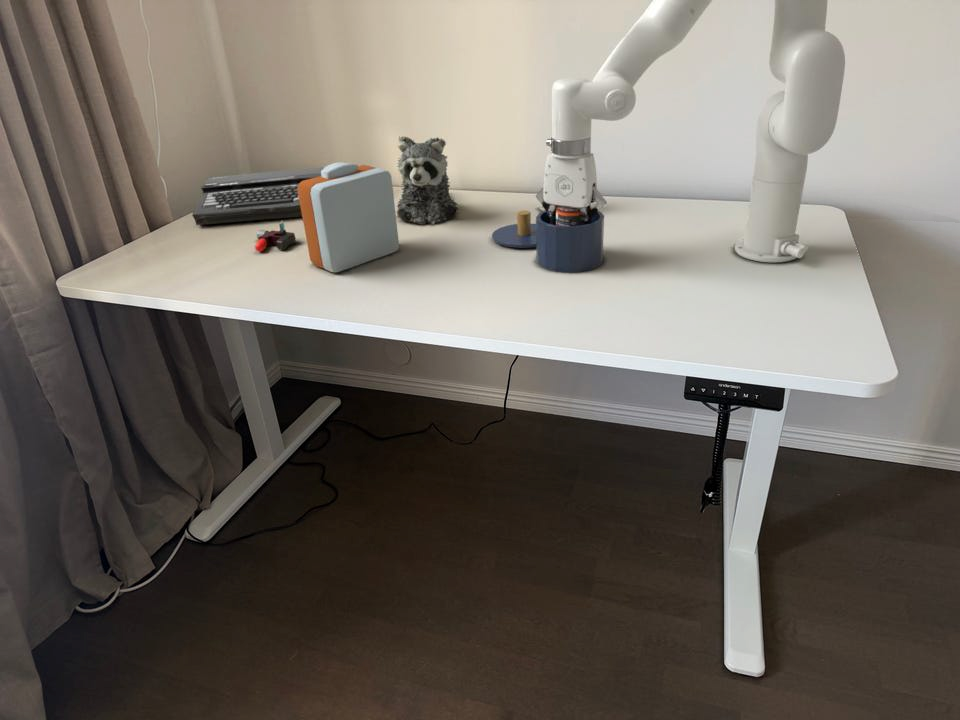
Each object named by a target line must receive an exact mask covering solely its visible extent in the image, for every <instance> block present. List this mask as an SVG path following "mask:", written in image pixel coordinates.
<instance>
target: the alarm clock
mask: <svg viewBox="0 0 960 720" xmlns="http://www.w3.org/2000/svg"><path fill="white" fill-rule="evenodd" d="M357 165H358V164H355V163H351V162H345V161H344V162H343V161H342V162H340V161H339V162H332V163H330V164H328V165H327V166H324V167H325V168H324V169H323V170H322V171H321V175H322V176H319V177H315V178H311V179H307V180H303V181H302V182H300V183H299V184H298V188H297V190H298V196H299V201H300V207H301V212H302V216H301V217H302V222H303V228H304V233H305V239H306V243H307V250H308V255H309V260H310V262H311V263H312V265H314V266H316V267H318V268H322V269H323V270H326V271H328V272H330V273H335V274H336V273H340V272H343V271H345V270H348V269H351V268H354V267H357V266H360V265H363V264H366V263H368V262H371V261H374V260H377V259H379V258H382V257H385V256H387V255H390V254H393V253H396V252H397V251H398V250H399V247H400V240H399V231H398V223H397V215H396V214H397V212H396V205H395V197H394V196H395V195H394V188H393V180H392V174H391V173H390V171H389V170H387V169H383V168H379V167H374V166H370V165H365V164H362V165H358V166H357Z"/></svg>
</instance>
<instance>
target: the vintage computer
mask: <svg viewBox="0 0 960 720" xmlns="http://www.w3.org/2000/svg"><path fill="white" fill-rule="evenodd" d="M356 165H357V166H359V165H358V164H356ZM325 167H326V166H321V167H320V166H319V167H308V168H295V169H286V170H275V171H265V172H264V171H263V172H254V173H244V174H232V175H223V176H215V177H214V176H213V177H207V179H206V180H205V182H204V183H203V185H201V186H200V189H201V191H202V193H200V196H199V198H198V200H197V203H196V205H195V206H194V211H193V212H192V215H191V216H192V218H193V219H194V221H195V224H196V226H201V225H203V226H204V225H214V224H227V223H238V222H249V221H262V220H263V221H264V220H273V219H274V220H275V219H285V218H286V219H287V218H299V217H302V212H301V207H300V201H299V196H298V190H297V188H298V184H299V183H300V182H302V181H303V180H307V179H311V178H315V177H319V176H322V175H321V171H322V170H323V169H324V168H325Z"/></svg>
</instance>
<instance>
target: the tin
mask: <svg viewBox="0 0 960 720" xmlns="http://www.w3.org/2000/svg"><path fill="white" fill-rule="evenodd" d="M535 224H536V246H535V248H536V249H535V250H536V253H535V255H536V262H537V265H539V266H540V267H541V268H543V269H545V270H548V271H551V272H557V273H580V272H587V271H590V270H593V269H595V268H598V267H599V266H600V265H601V264H602V263H603V257H604V236H605V234H604V233H605V215H604V214H603V212H602V211H601V210H600V211H599V212H598V213H597V214H596V215H595V216H594V217H592V219H591V223H590V224H586V225H580V226H557V225H552V224H550V216H548V214H547V211H546V210H545V211H540V212H539V213H537V215H536V216H535Z"/></svg>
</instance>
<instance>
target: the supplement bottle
mask: <svg viewBox="0 0 960 720" xmlns="http://www.w3.org/2000/svg"><path fill="white" fill-rule="evenodd" d="M582 220H583V218H582V215H581V212H580V209H579V208H571V207H563V206H557V207H556V225H557V226H580V222H581V221H582Z"/></svg>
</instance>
